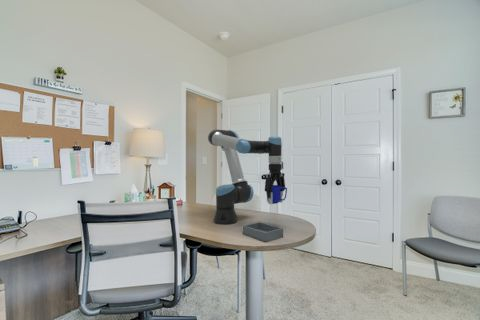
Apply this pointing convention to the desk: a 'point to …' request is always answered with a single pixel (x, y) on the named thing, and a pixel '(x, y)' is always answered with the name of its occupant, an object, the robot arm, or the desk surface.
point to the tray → (263, 231)
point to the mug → (276, 194)
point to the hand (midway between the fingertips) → (275, 202)
